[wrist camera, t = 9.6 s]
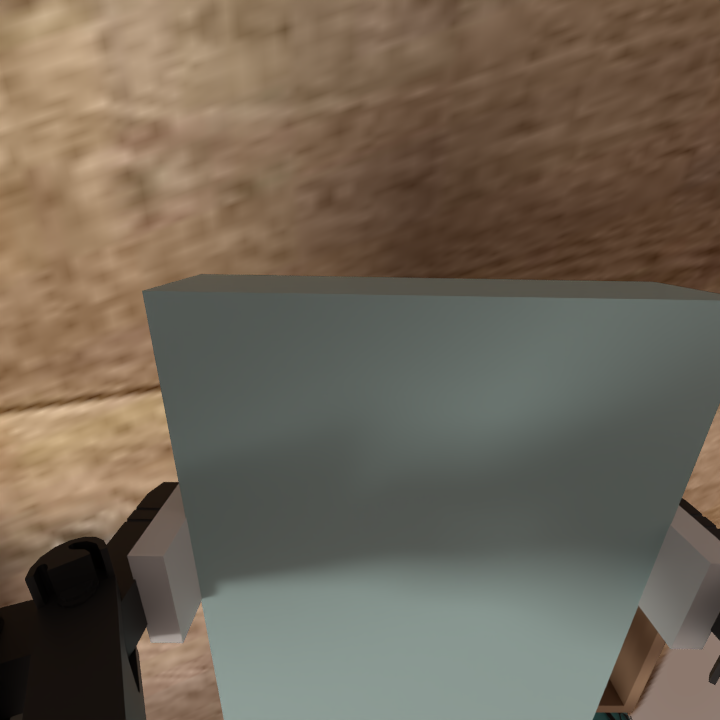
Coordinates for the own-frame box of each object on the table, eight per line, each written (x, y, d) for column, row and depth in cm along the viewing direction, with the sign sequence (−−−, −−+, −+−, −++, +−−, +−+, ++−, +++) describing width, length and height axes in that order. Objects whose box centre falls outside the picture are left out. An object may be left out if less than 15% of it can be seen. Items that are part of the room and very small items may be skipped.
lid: (218, 269, 10) (142, 290, 7) (621, 275, 10) (760, 301, 7) (256, 602, 15) (224, 721, 11) (535, 606, 15) (590, 725, 11)
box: (477, 482, 23) (514, 563, 18) (620, 484, 24) (702, 565, 18) (456, 613, 28) (481, 712, 22) (577, 614, 28) (632, 712, 22)
